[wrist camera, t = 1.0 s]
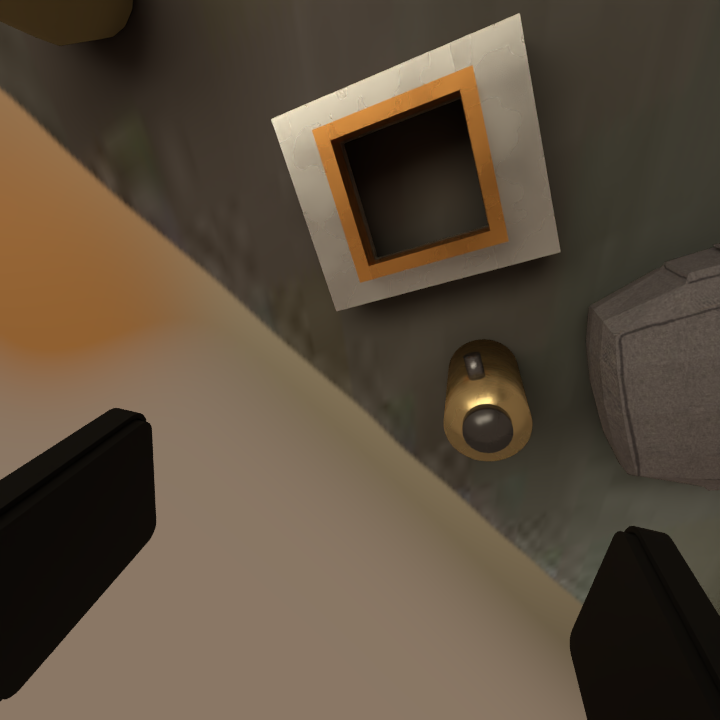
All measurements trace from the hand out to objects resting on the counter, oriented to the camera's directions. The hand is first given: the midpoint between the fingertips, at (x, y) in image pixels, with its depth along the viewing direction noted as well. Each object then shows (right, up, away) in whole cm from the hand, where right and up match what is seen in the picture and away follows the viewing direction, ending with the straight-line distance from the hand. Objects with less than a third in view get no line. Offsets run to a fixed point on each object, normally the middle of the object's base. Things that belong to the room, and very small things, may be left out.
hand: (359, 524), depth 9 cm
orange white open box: (+4, +15, +21) cm, 26 cm away
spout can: (+9, +3, +25) cm, 26 cm away
